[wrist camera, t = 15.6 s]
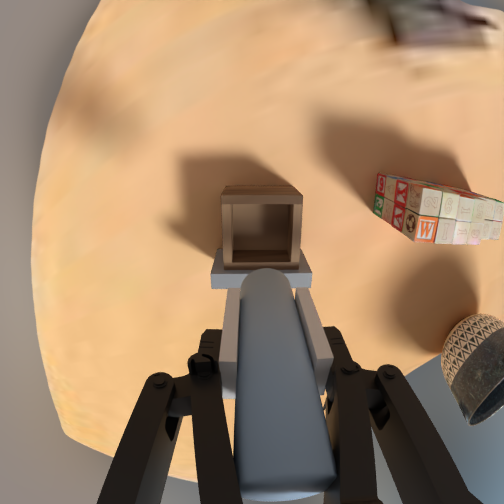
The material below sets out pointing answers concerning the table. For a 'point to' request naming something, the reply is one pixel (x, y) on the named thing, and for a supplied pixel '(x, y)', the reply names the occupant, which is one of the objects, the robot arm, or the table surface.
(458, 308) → the table surface
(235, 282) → the wall
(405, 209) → the stack of blocks
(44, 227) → the table surface
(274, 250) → the slider block
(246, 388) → the dowel
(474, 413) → the planter
